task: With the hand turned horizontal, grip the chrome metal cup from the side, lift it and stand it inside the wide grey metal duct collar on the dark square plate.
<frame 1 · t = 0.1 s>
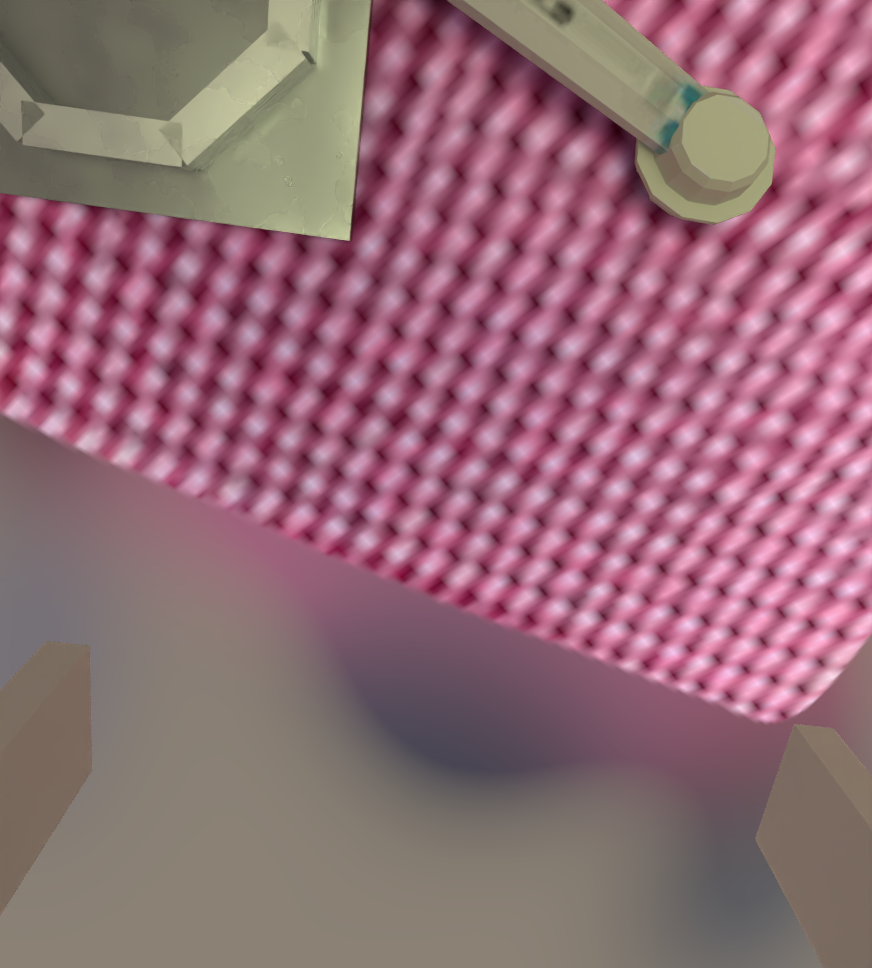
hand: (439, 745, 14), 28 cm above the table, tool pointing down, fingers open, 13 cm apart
beige knobbed rod: (527, 34, 34), on the table, touching duct collar
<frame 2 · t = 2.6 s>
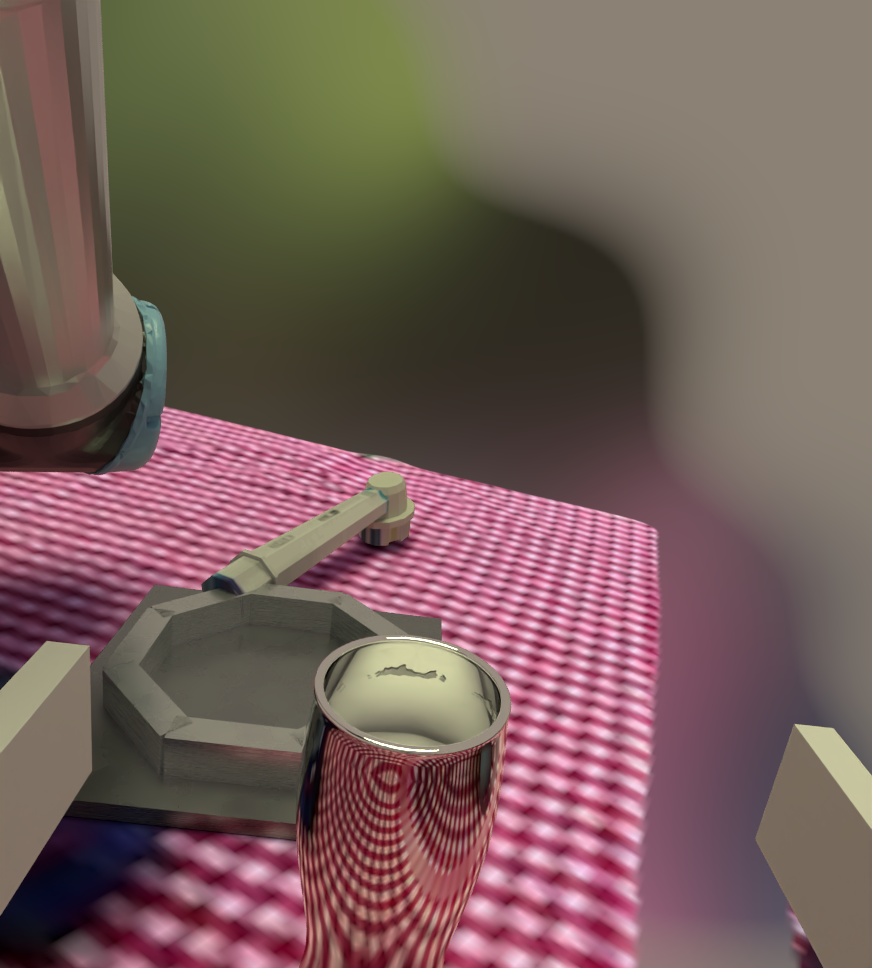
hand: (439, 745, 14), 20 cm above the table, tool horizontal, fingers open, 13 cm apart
beige knobbed rod: (324, 570, 64), on the table, touching duct collar
duct collar: (267, 698, 47), on the table
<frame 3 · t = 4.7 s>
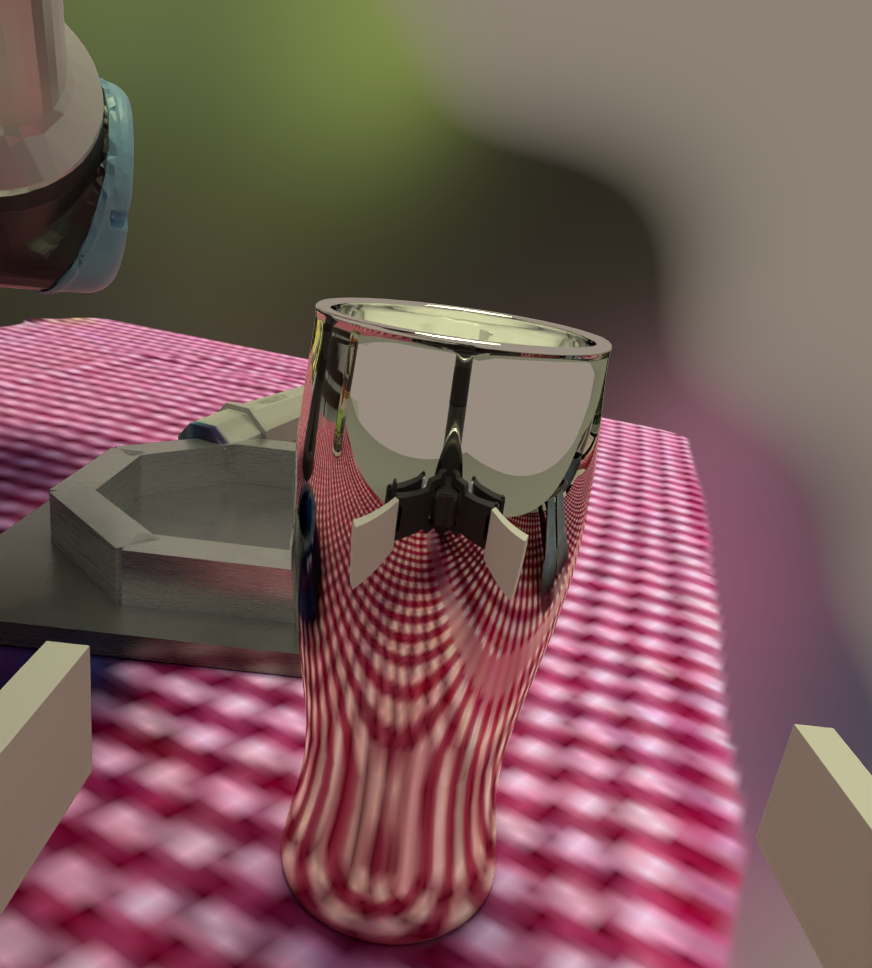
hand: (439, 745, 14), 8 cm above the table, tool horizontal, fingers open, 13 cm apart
beige knobbed rod: (322, 449, 56), on the table, touching duct collar
duct collar: (255, 549, 39), on the table
chrome metal cup: (388, 856, 21), on the table
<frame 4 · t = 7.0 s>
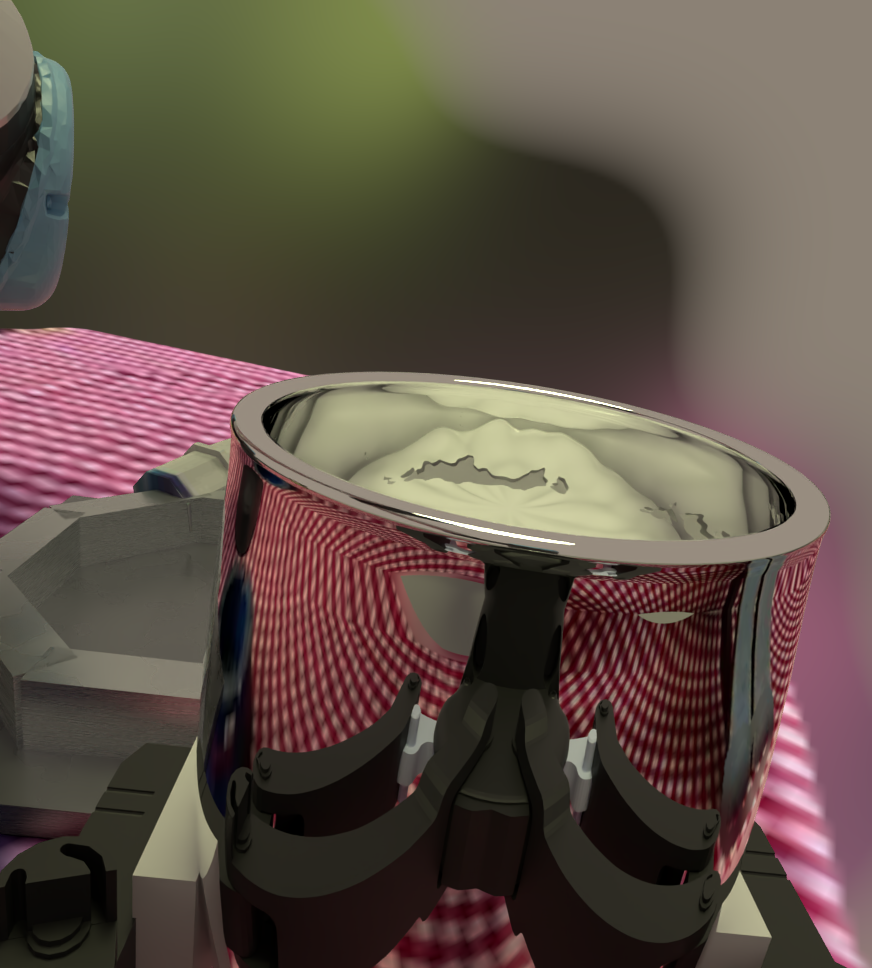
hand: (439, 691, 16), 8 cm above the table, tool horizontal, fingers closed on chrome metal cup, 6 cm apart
beige knobbed rod: (311, 490, 48), on the table, touching duct collar
duct collar: (220, 638, 31), on the table
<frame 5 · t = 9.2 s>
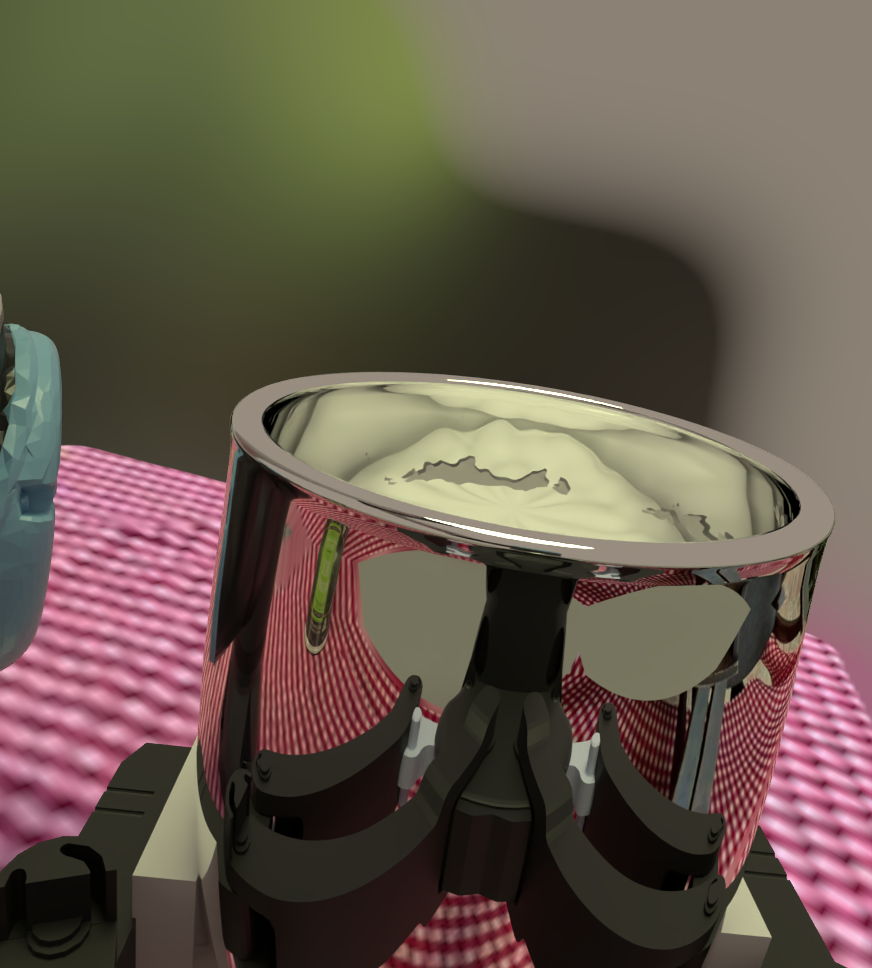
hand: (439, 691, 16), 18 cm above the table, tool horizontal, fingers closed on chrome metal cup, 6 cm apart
when the fingers open (10 cm above the table, at t = 11.8 s): chrome metal cup moves 2 cm, resting on duct collar.
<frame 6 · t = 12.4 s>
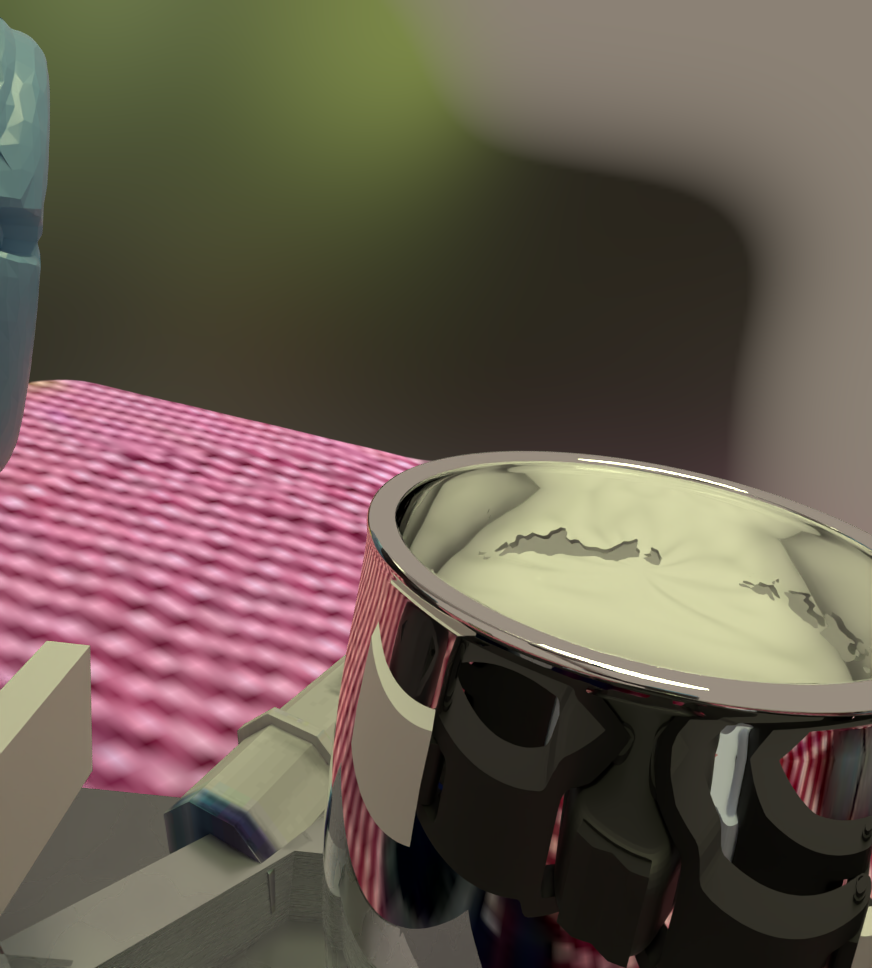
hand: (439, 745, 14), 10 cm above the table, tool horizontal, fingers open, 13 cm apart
beige knobbed rod: (427, 705, 31), on the table, touching duct collar
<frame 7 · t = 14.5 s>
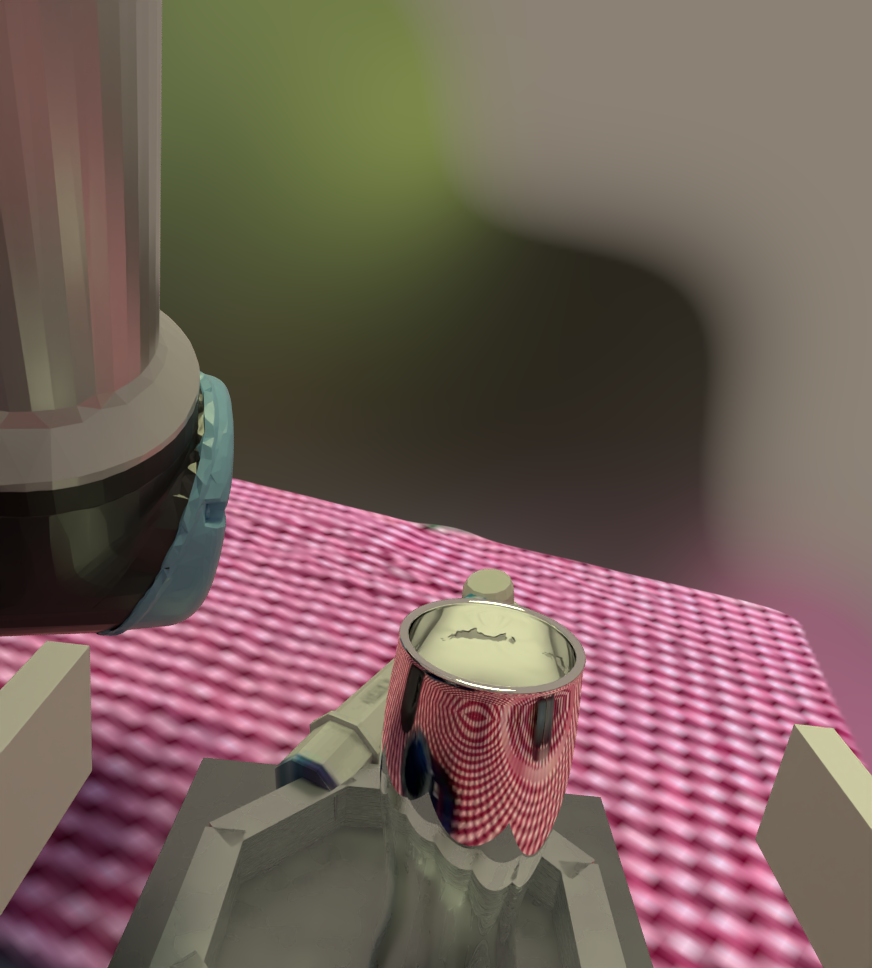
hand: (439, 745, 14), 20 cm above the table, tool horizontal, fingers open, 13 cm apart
beige knobbed rod: (421, 712, 48), on the table, touching duct collar
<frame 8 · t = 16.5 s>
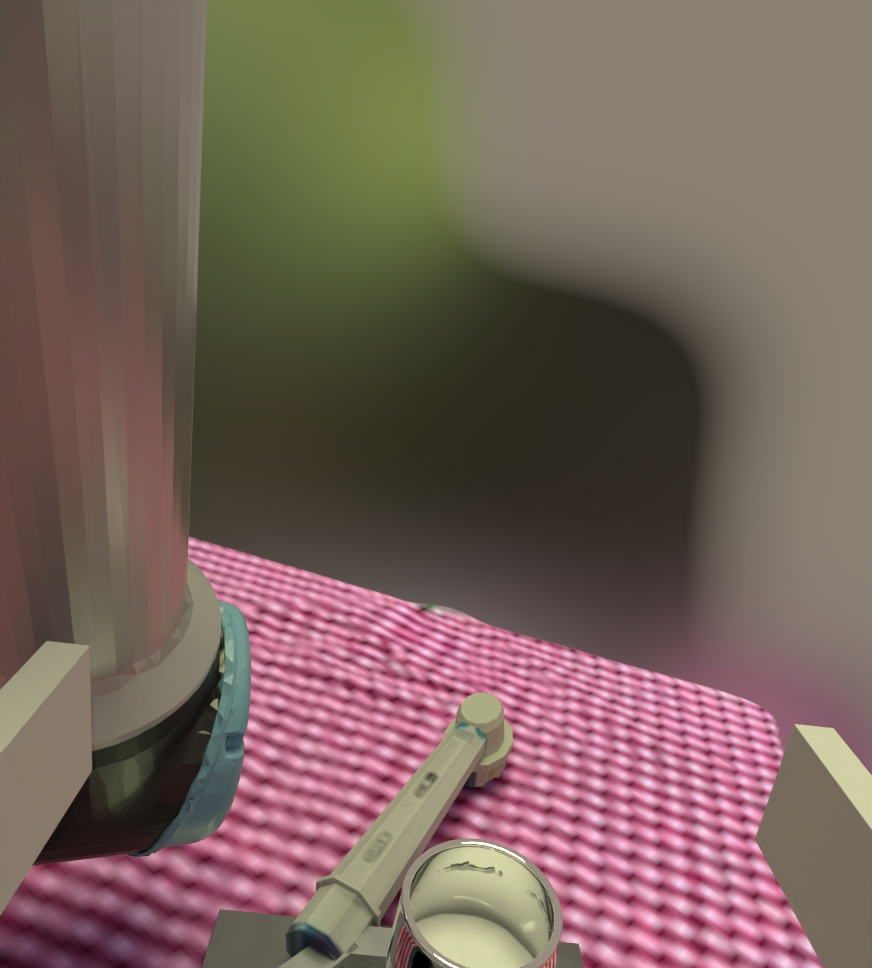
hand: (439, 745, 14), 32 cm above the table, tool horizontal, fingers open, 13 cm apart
beige knobbed rod: (417, 844, 52), on the table, touching duct collar
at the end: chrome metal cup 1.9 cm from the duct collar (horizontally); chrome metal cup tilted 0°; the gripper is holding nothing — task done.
